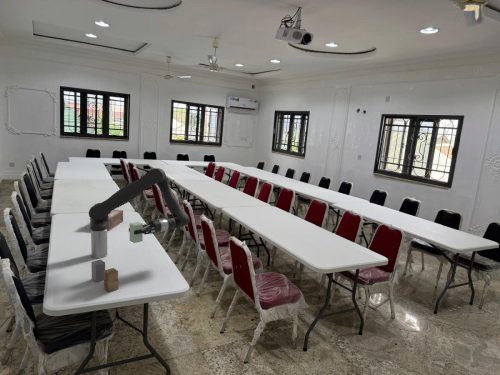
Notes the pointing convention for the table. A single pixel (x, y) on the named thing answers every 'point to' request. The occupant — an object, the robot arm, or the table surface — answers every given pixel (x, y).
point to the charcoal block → (98, 270)
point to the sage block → (134, 227)
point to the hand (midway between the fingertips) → (131, 231)
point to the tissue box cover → (113, 219)
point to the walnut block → (111, 280)
